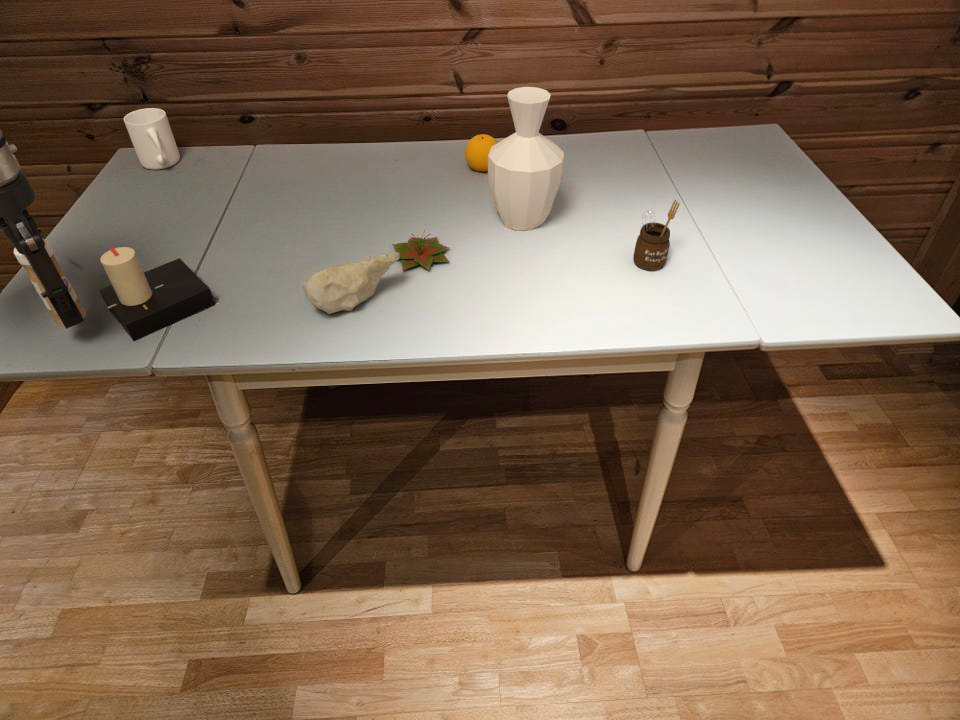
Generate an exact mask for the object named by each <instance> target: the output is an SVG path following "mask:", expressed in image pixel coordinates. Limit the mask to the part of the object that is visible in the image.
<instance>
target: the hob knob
mask: <svg viewBox="0 0 960 720" xmlns="http://www.w3.org/2000/svg"><path fill="white" fill-rule="evenodd" d="M100 263H101V265H102V267H103V270H104V272H105V273H106V275H107V277H108V279H109V282H110V284H111V285H112V286H113V288H114V290H115V292H116V294H117V296H118V298H119V300H120V302H121V303H122V304H123V305H126V306H135V305H139V304H142V303H144V302H146V301H147V300H149V299H150V297H151V296H152V290H151V288H150V286H149V284H148V281H147V279H146V277H145V274H144V272H145V271H144V270H143V268H142V266H141V262H140V261H139V258H138V256H137V254H136V252H135V250H134V249H133V248H131V247H127V246H119V247H110V248H109V250H107V251H105V252H104V253H103V254H102V255H101V257H100Z"/></svg>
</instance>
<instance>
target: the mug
mask: <svg viewBox="0 0 960 720" xmlns="http://www.w3.org/2000/svg"><path fill="white" fill-rule="evenodd" d="M166 113H167V112H165V110H163V109H162V108H157V107H156V108H155V107H147V108H140V109H136V110H133V111H131V112H128V113H127V114H125V116H124V117H123V122H124V125H125V128H126V131H127V132H128V135H129V138H130V140H131V143H132V145H133V146H132V147H133V148H134V151H135V154H136V156H137V159H138V161H139V163H140V165H141V166H142V167H143V168H144V169H147V170H152V171H158V170H165V169H168V168H171V167H173V166H175V165H176V164H177V163H178V162H179V161H180V158H181V156H180V152H179V149H178V146H177V143H176V140H175V137H174V133H173V131H172V127H171V125H170V122H169V119H168V116H167V114H166Z"/></svg>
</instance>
